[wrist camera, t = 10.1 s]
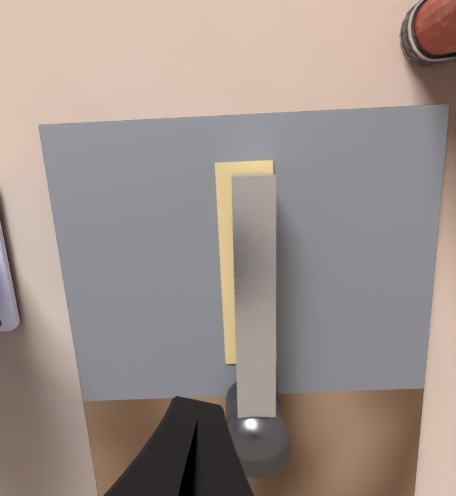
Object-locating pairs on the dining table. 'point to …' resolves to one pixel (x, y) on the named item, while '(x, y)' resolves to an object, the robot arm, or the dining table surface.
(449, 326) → the dining table surface
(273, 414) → the lock bar
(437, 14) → the red tin can
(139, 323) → the door plate
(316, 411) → the plate
